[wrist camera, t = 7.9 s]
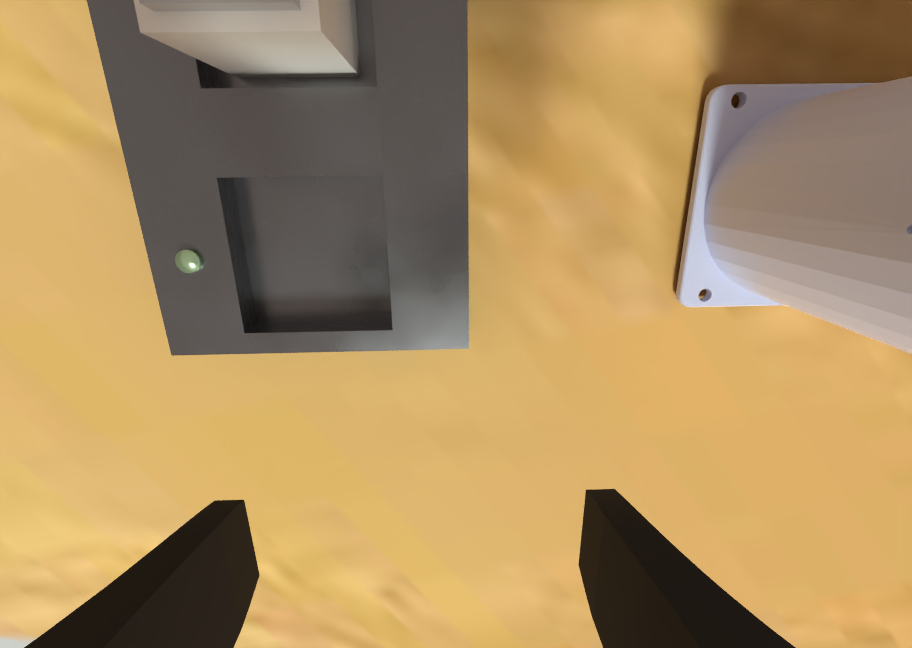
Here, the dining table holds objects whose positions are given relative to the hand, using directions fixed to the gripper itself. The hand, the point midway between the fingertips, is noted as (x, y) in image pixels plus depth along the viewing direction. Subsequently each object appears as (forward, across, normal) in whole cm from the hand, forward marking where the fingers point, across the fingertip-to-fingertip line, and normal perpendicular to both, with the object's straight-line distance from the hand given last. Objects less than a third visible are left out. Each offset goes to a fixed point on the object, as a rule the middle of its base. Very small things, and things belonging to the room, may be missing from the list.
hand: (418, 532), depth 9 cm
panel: (+10, +4, -8) cm, 14 cm away
